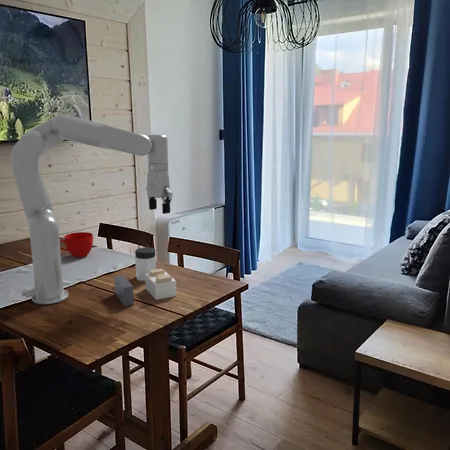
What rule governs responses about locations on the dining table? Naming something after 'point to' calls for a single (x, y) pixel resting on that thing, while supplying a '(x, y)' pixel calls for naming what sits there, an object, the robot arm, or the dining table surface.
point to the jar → (144, 262)
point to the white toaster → (160, 284)
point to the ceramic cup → (78, 243)
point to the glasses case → (124, 290)
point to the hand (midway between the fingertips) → (159, 211)
